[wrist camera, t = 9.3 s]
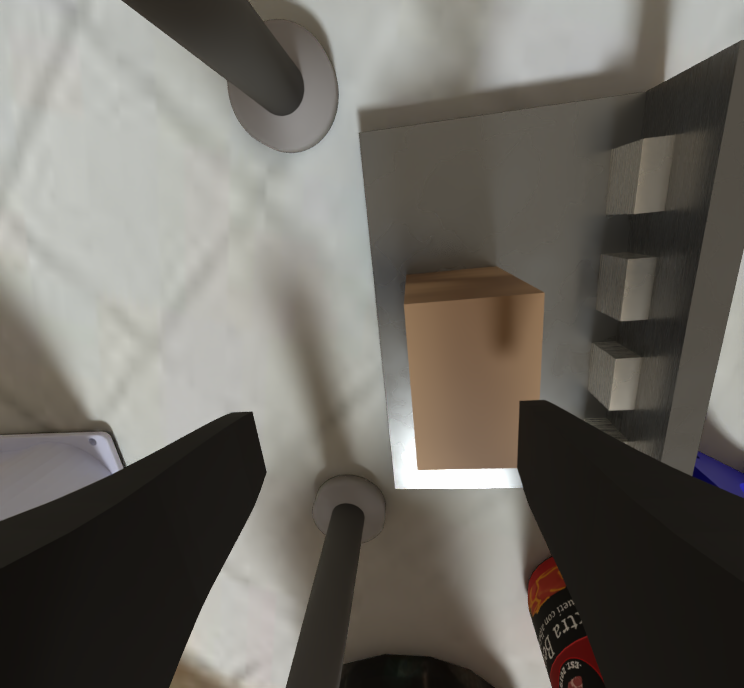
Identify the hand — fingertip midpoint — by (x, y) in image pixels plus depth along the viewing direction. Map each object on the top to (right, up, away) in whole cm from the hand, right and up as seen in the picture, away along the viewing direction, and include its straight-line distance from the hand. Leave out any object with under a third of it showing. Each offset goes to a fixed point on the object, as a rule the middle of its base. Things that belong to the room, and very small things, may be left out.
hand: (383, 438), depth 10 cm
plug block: (+4, +3, +7) cm, 9 cm away
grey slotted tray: (+6, +3, +8) cm, 11 cm away
